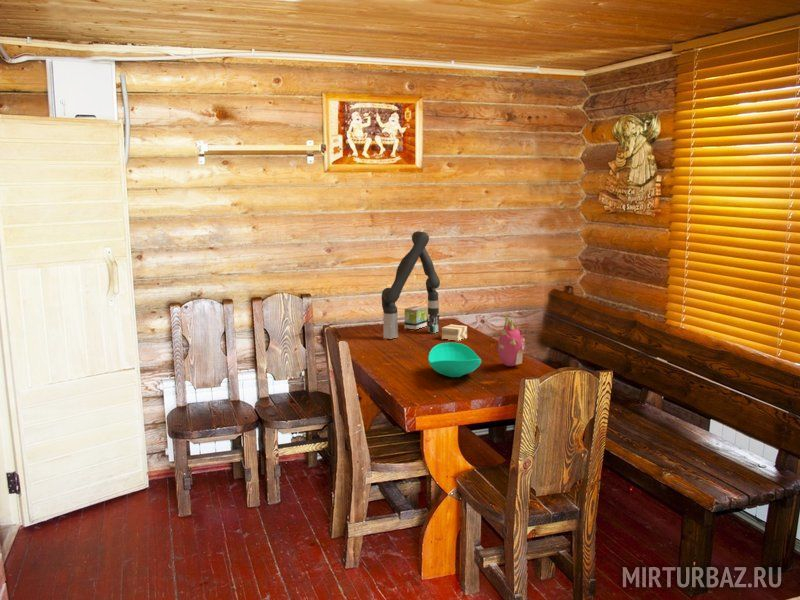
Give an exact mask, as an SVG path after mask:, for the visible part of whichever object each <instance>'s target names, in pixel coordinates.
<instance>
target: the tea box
mask: <svg viewBox="0 0 800 600" xmlns="http://www.w3.org/2000/svg"><path fill="white" fill-rule="evenodd" d="M427 316H428V306H421V305H414V306H413V305H412V306H411V307H407V308H404V329H405V328H410V329H419V328H422V327H425V326H427V327H428V323H427V318H428V317H427ZM425 328H426V327H425ZM422 329H423V328H422ZM419 330H420V329H419Z"/></svg>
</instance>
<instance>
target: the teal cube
mask: <svg viewBox="0 0 800 600" xmlns="http://www.w3.org/2000/svg"><path fill="white" fill-rule="evenodd" d="M427 328H428V331H427V333H428V332H430V327H429V326H428V325H427ZM436 332H438V333H439V324H437V325H434V324H433V332H432V333H431V332H430V333H429V334H434V333H435V334H437V333H436Z"/></svg>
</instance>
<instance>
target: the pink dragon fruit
mask: <svg viewBox="0 0 800 600" xmlns="http://www.w3.org/2000/svg"><path fill="white" fill-rule="evenodd" d="M504 317H505V319H504V320H505V321H504V327H503V328H502V329H503V330H502V331H501V333H500V335H499V336H498V337H499V338H498V342H497V352H498V356H499V359H500V361H501V362H502V364H503V365H504V366H507V367H514V366H516V365H521V364H523V358H524V357H523V356H524V350H525V348H526V344H525V337H523V335H524V328H522V331H520V330H518V327H519V326H518V324H517V323H516V324H515V322H514V321H513V320H512V319H511V320H510V318H509V317H508V313H507V312H506V313H505V315H504Z"/></svg>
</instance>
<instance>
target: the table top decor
mask: <svg viewBox="0 0 800 600" xmlns="http://www.w3.org/2000/svg"><path fill="white" fill-rule="evenodd" d="M427 357H428V363H429V365H430V367H431V368H432V369H433V370H434V371H436V372H437V373H439V374H441V375H443V376H446V377H450V378H461V377H462V376H465V375H467V374H471V373H472V372H474V371H475V370H476V369H478V368H479V367H480V365H481V364H482V359H481V358H480V356H478V354H477V353H476V352H475V351H474V350H473V349H471V348H470V347H469V346H468V345H465V344H464V343H460V342H459V343H458V342H441V343H438V344H436V345H435V346H433V347H432V348H431V350H430V351H429V353H428V356H427Z"/></svg>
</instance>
